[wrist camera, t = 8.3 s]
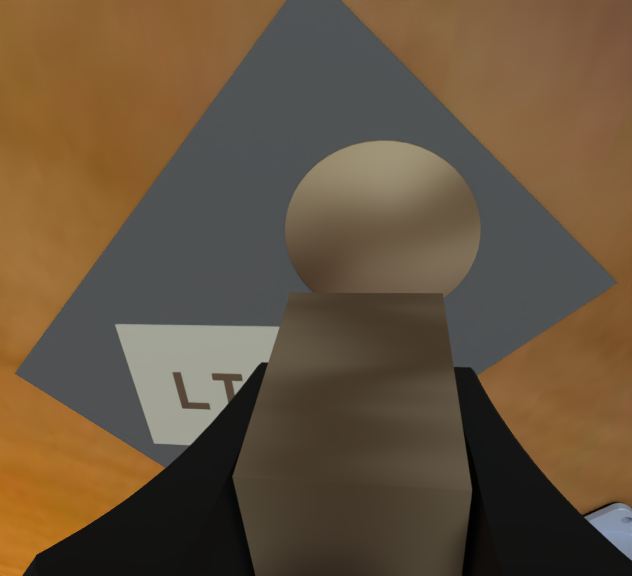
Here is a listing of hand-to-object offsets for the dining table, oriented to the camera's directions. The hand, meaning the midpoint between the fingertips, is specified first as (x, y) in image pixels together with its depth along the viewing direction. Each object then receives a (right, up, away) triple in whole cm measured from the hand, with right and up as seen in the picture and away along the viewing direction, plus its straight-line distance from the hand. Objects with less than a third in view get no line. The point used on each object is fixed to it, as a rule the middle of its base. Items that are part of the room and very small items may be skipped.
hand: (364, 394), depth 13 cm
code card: (-6, -2, +13) cm, 15 cm away
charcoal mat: (-3, +1, +11) cm, 11 cm away
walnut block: (0, +1, +1) cm, 2 cm away
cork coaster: (+1, +5, +7) cm, 9 cm away
